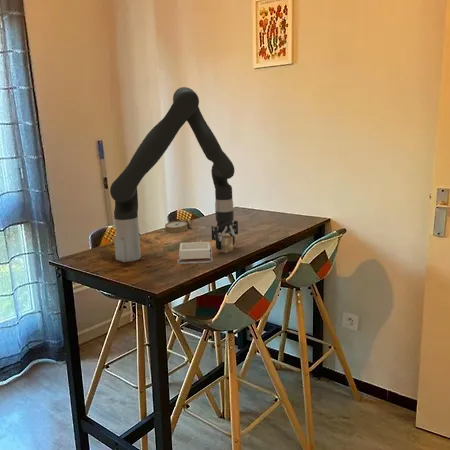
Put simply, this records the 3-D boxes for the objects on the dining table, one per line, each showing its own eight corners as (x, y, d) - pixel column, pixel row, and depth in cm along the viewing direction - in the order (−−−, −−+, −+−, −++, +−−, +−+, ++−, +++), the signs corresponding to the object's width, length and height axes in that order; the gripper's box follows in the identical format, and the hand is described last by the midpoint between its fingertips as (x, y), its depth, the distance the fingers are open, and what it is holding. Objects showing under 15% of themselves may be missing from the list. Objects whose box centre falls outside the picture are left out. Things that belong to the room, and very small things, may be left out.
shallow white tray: (179, 251, 196) (179, 243, 196) (211, 250, 197) (210, 241, 196) (178, 260, 185) (177, 251, 184) (211, 258, 185) (211, 249, 184)
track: (180, 246, 207) (180, 245, 207) (211, 244, 208) (211, 243, 208) (177, 263, 183) (177, 262, 183) (212, 262, 183) (212, 261, 183)
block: (225, 252, 196) (225, 238, 194) (218, 250, 199) (217, 237, 197) (233, 250, 199) (232, 236, 197) (225, 248, 202) (224, 235, 200)
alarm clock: (160, 226, 233) (177, 215, 245) (161, 235, 235) (179, 224, 247) (178, 228, 227) (195, 217, 239) (179, 238, 229) (196, 226, 241)
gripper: (219, 213, 187) (220, 252, 191) (242, 207, 197) (243, 244, 201) (205, 211, 192) (207, 249, 196) (229, 205, 202) (230, 242, 206)
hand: (225, 247), depth 198 cm, fingers open, 7 cm apart
